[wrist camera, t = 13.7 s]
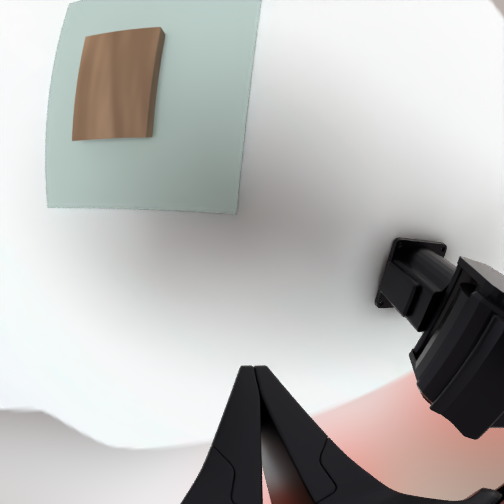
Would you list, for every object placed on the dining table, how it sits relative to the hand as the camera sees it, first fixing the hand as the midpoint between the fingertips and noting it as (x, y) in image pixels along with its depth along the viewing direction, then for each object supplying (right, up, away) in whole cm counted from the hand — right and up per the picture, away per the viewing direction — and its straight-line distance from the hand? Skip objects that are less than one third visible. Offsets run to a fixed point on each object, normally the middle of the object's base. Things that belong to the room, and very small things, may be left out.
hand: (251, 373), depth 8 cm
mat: (-7, +14, +6) cm, 17 cm away
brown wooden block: (-6, +14, +5) cm, 16 cm away
